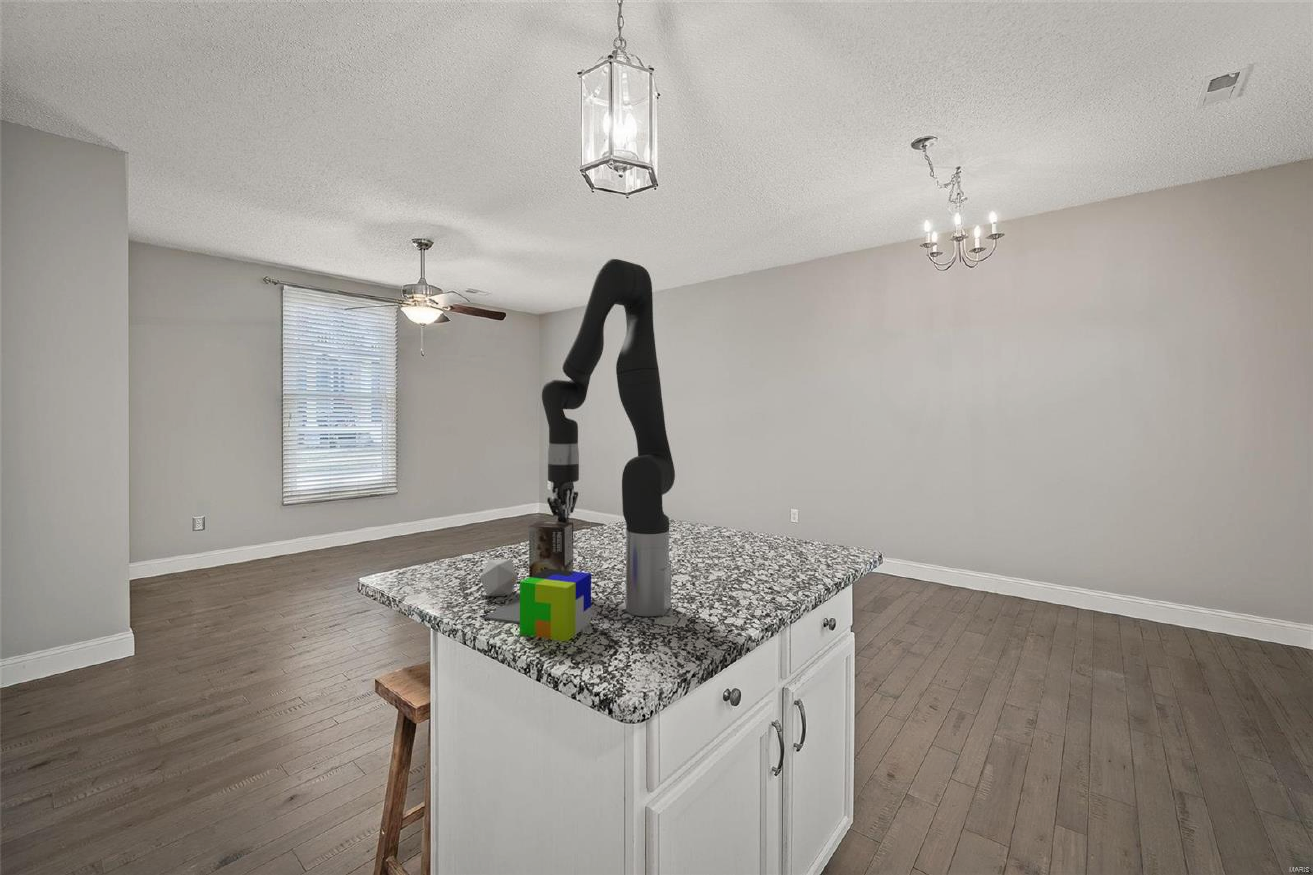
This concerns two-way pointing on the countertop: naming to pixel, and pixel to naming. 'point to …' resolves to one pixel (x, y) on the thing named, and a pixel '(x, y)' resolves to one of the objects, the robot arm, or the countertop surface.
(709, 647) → the countertop surface
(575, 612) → the puzzle toy
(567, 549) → the coffee box
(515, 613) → the mat
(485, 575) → the die
